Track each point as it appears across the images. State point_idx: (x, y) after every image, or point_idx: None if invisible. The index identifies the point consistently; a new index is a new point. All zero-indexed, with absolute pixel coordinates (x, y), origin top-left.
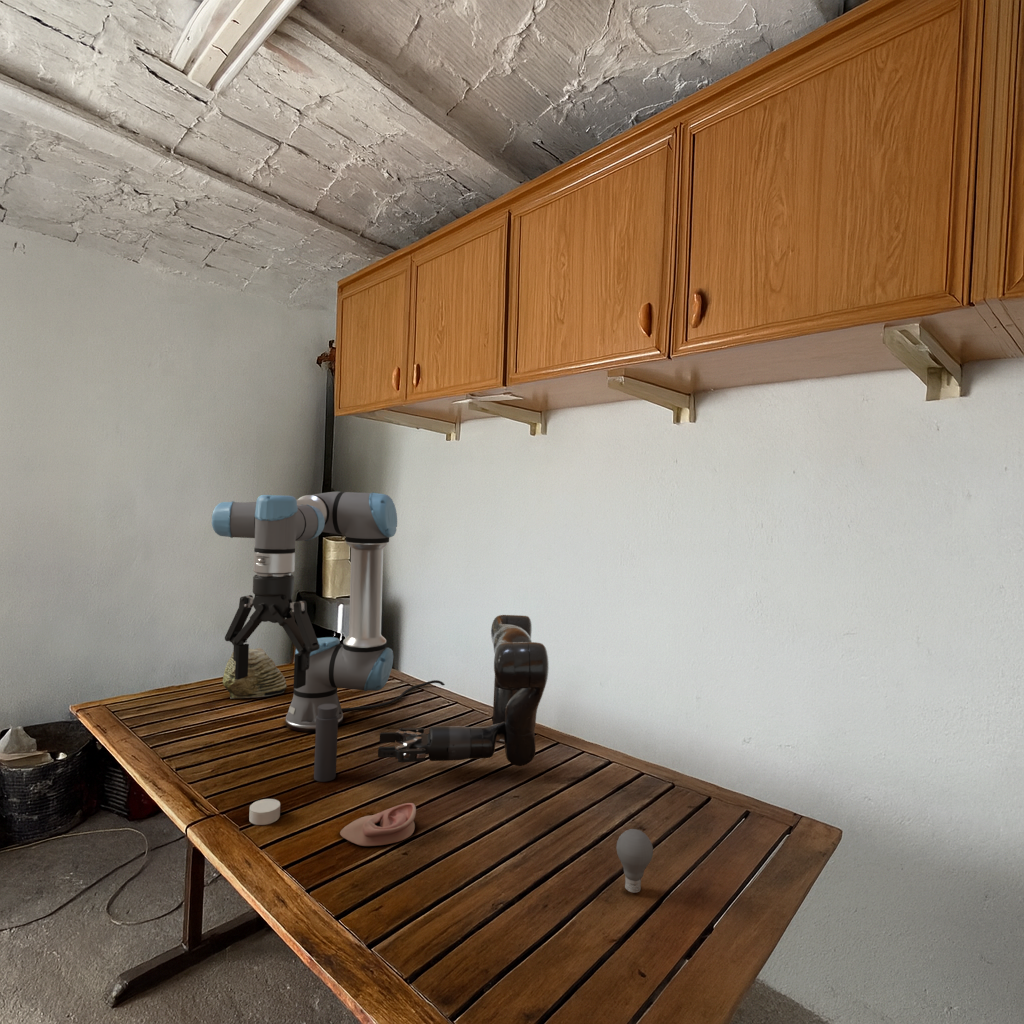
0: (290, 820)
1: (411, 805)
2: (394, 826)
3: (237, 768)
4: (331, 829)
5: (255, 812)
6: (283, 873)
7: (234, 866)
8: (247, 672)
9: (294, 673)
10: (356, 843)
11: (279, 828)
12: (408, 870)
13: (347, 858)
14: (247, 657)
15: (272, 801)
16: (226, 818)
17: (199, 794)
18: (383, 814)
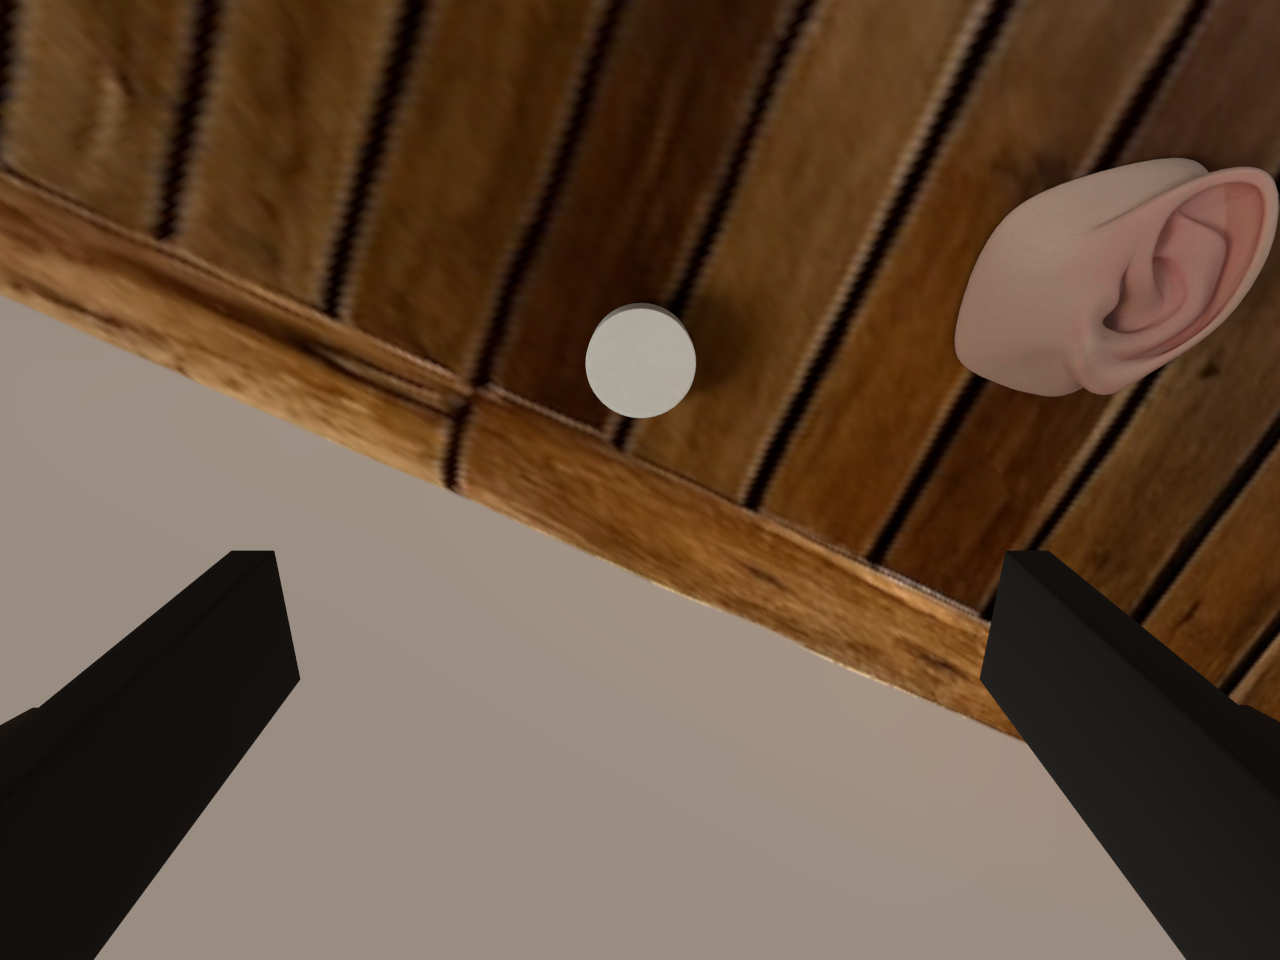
0: (736, 334)
1: (1258, 189)
2: (1190, 322)
3: (197, 9)
4: (908, 332)
5: (641, 417)
6: (886, 581)
7: (740, 601)
8: (252, 577)
9: (1071, 794)
10: (1040, 394)
11: (733, 394)
12: (1238, 448)
13: (1032, 461)
14: (127, 705)
15: (645, 327)
16: (522, 408)
17: (286, 301)
18: (1129, 264)
